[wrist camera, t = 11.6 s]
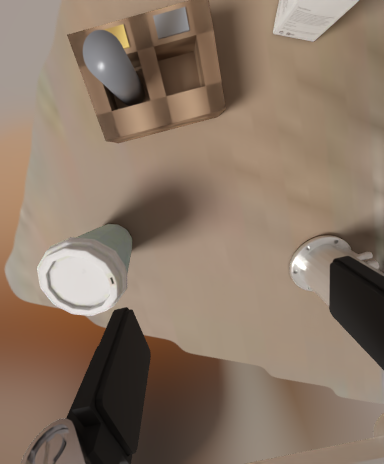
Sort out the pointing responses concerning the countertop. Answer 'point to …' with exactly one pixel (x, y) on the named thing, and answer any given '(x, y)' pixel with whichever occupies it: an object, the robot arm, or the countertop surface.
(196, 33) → the socket block
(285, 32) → the skincare box
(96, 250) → the disposable coffee cup
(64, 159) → the countertop surface
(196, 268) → the countertop surface
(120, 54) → the peg
